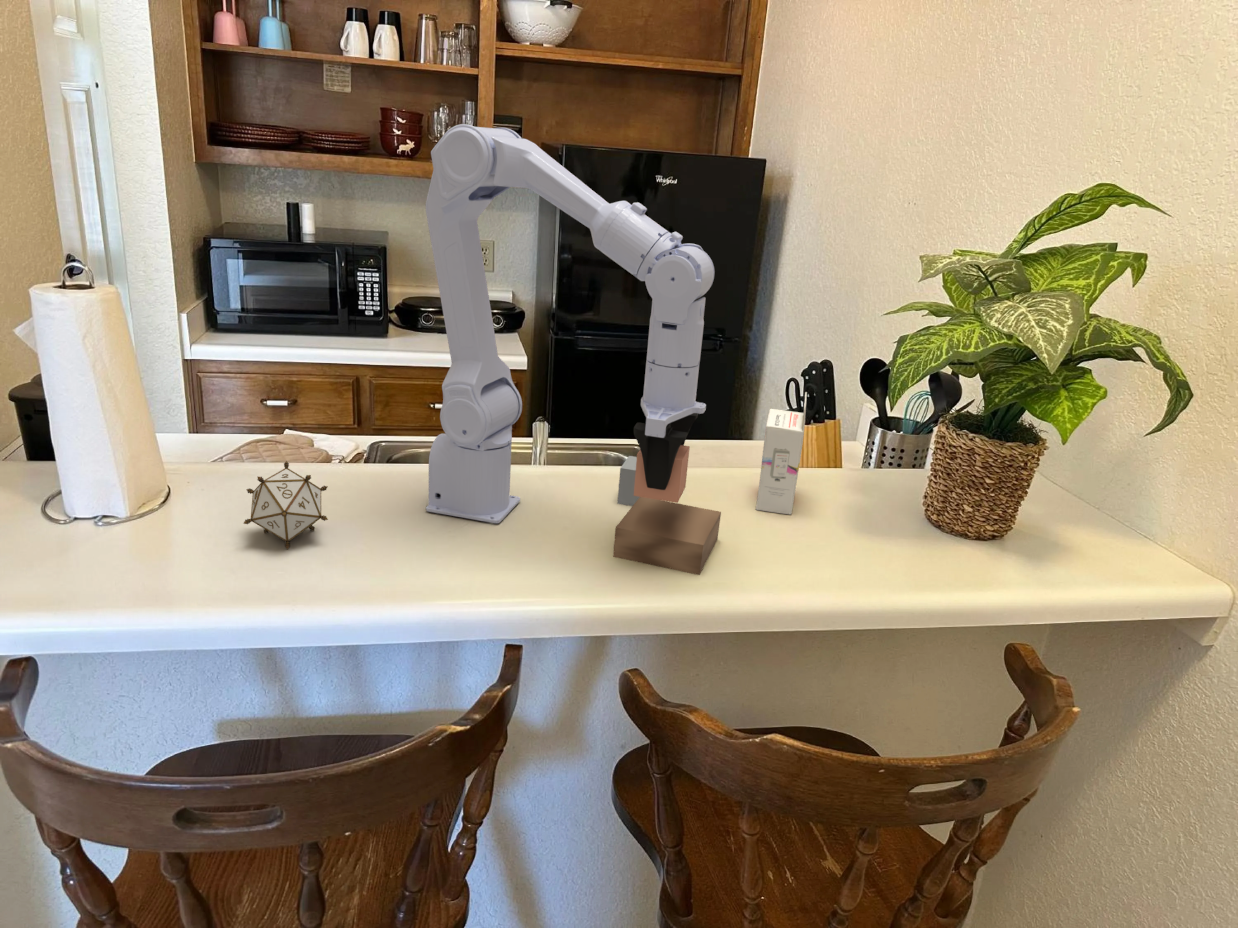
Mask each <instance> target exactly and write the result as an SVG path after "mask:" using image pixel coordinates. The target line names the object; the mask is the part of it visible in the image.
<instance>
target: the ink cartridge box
mask: <svg viewBox="0 0 1238 928" xmlns="http://www.w3.org/2000/svg"><path fill="white" fill-rule="evenodd" d="M807 394H808V392H807V391H805V392H804V403H803V412H798V411H791V410H784V409H777V408H770V409H769V410H768V411H769V412H768V415H767V418H766V423H765V430H764V438H763V439H764V440H763V447H762V449H763V450H762V455H761V456H762V457H761V465H760V466H761V467H760V474H759V484H758V491H757V499H756V506H755V510H756V511H762V512H769V513H776V514H782V515H789V516H790V515H792V513H793V507H794V503H795V502H794V501H795V496H796V489H797V481H798V478H799V468H800V464H801V463H800V462H801V457H802V456H801V455H802V451H803V450H802V449H803V443H804V435H805V434H804V433H805V425H806V412H807V411H806V410H807V397H808V395H807Z"/></svg>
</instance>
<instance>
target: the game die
mask: <svg viewBox="0 0 1238 928" xmlns="http://www.w3.org/2000/svg"><path fill="white" fill-rule="evenodd" d="M289 464H290V463H289V461H287V460H285V462H284V463H283V467H284V468H283V469H280V470H279V471H277V472H276V473H274V474H273V475H271V476H269V477H267V478H265V479H264V477H263V476H257V479H256V480H257V481H259V485H258V486H256V488H255V489H253V488H247V489H246V491H247V494H250V495H251V494H252V496H251V497H252V498H251V499H252V500H251V511H250V518H247V519H244V521H243V523H242V524H244V525H249V524H251V523H253V524H255V525H257V526H258V527H261V528H262V529H263V533H264V534H267V533H268V534H269V533H271V534H273V535H274V536H275V537H277V538H279V539H280V540H283V541H284V542H285V543H284V547H285V548H286V550H289V548H290V547H291V543H290V541H291V540H293V539H295V538H296V537H297V536H299V535H300V534H302V533H303V532H304V531H306V530H307V529H308V530H309V531H310V532H311V531H315V526H314V524H315V523H316V522H318V521H319V520H322V521H324V522H325V521H328V520H329V518H328V517H327V515H325V514H324V515H322V492H325V491H327V489H328V486H327V485H323V486H321V487H319V486H317V485H316V484H314V483H313V482H311V481H310V480H311V479H312V476H311V475H312V474H306V476H305V477H303V476H302V475H300V474H298V473H297V472H295V471H294V470H292V469H290V468H289V466H290V465H289Z"/></svg>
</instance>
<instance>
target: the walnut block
mask: <svg viewBox="0 0 1238 928" xmlns="http://www.w3.org/2000/svg"><path fill="white" fill-rule="evenodd" d="M721 516H722V511H720V510H719V511H718V510H713V509H709V508H703V507H697V506H692V505H687V504H681V503H679V502H678V503H675V502H669V501H663V500H657V499H651V498H644V497H639V499H638V500H637V501H636V502H635V504H634V505H633V506H630V509H629V510H628V511H627V512H626V514H624V516H623V518H622V519H621V520H620V521H619V522H618V523H617V525H616V526H615V531H614V541H613V555H612V557H613V558H616V559H617V558H618V559H621V560H626V561H631V562H635V563H641V564H646V565H650V566H655V567H659V568H660V567H661V568H665V569H669V570H673V571H674V570H675V571H679V572H682V573H683V572H684V573H687V574H688V573H689V574H693V575H697V576H700V575H701V573H702V571H703V569H704V567H705V566H706V563H707V561H708V560H709V557H710V555H711V554H712V552H713V549H714V547H715V545H716V543H717V541H719V540H718V539H719V531H720V523H721Z"/></svg>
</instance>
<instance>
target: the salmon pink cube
mask: <svg viewBox="0 0 1238 928" xmlns="http://www.w3.org/2000/svg"><path fill="white" fill-rule="evenodd" d="M636 453H637V454H636V457H637V461H636V473H635V485H634V496H638V497H644V498H651V499H657V500H662V501H667V502H673V503H678V504H679V501H680V499H681V497H682V495H683V493H684V491H685V488H686V487H687V486H686V484H687V476H688V467H689V466H688V465H689V457H690V446H689V445H685V444H684V445H680V447H679V449H678V452H677V454H676V457H675V460H674V464H673V468H672V472H671V476H670V480H669V482H668V485H667V487H666V489H665V490H659V489H653V488H648V487H647V484H646V479H645V471H644V464H643V457H642V453H641V450H640V449H639V450H638V452H636Z"/></svg>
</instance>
